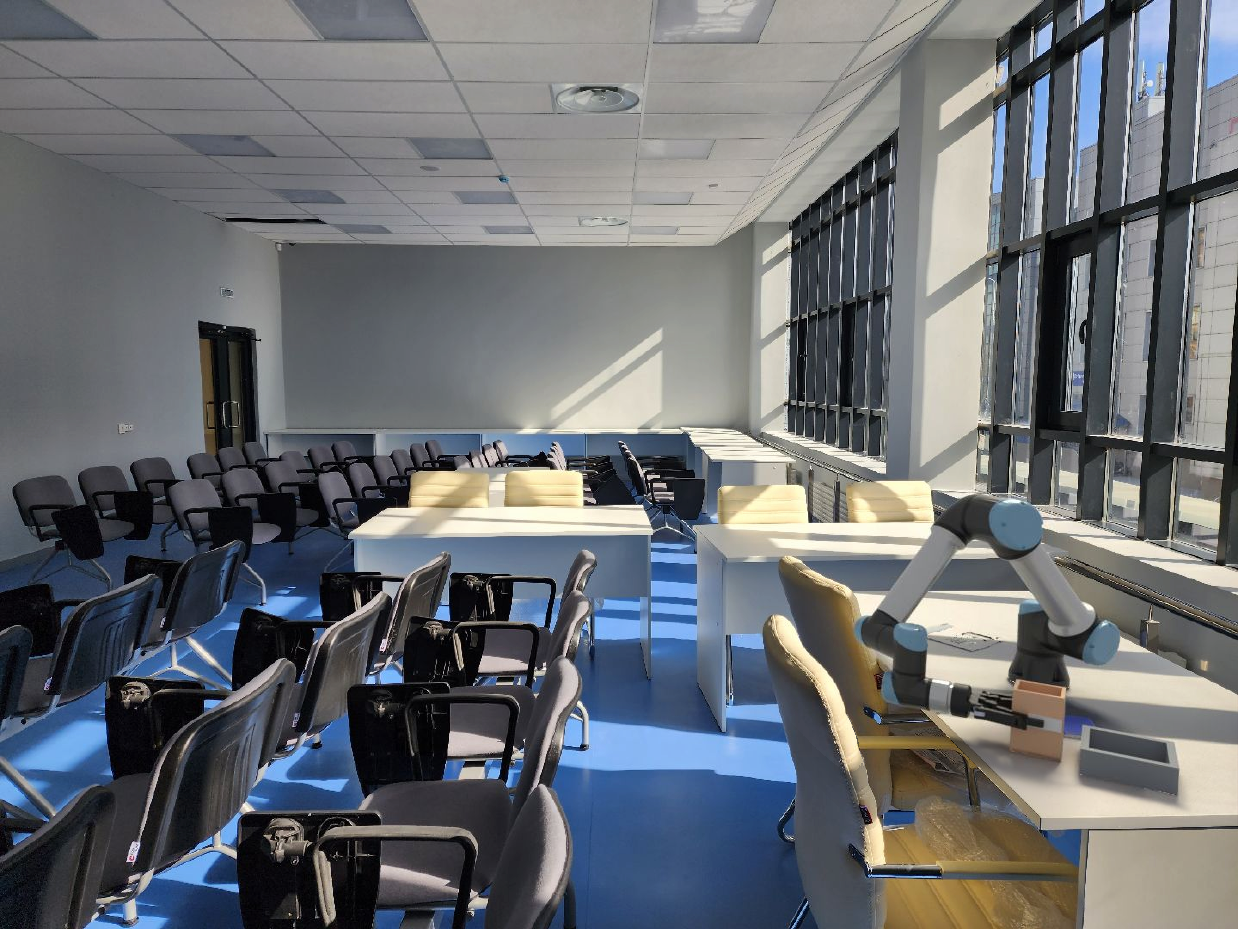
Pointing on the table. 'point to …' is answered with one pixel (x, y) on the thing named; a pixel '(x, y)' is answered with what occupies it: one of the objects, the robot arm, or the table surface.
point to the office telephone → (958, 641)
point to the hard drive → (1075, 726)
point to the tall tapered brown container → (1040, 703)
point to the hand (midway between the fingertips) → (1062, 719)
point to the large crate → (1129, 759)
